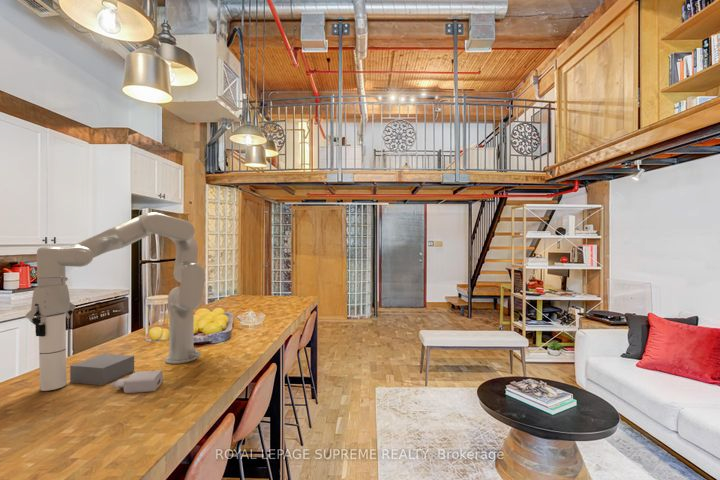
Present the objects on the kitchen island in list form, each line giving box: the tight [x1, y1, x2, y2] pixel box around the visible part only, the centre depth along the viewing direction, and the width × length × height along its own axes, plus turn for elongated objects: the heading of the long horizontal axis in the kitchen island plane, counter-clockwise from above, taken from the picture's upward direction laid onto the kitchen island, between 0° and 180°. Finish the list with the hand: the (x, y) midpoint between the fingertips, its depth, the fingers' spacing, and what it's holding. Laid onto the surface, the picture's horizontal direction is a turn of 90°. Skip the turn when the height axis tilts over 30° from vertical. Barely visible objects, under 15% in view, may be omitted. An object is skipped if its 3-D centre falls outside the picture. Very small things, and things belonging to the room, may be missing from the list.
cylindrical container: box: [38, 313, 68, 392], centre depth 126 cm, size 7×7×25 cm
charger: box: [109, 370, 164, 394], centre depth 126 cm, size 5×9×15 cm
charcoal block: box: [69, 353, 135, 386], centre depth 137 cm, size 14×14×6 cm
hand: (52, 332), depth 126 cm, fingers closed on cylindrical container, 7 cm apart
